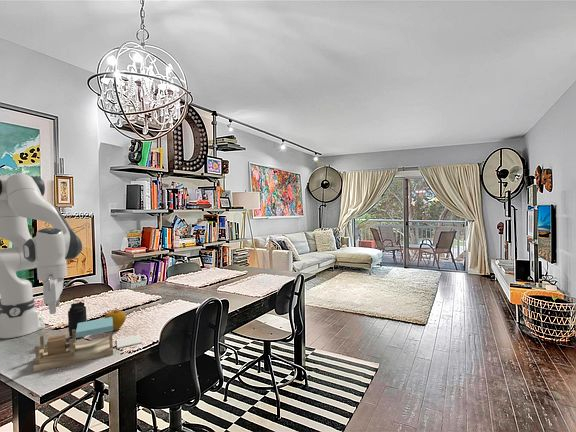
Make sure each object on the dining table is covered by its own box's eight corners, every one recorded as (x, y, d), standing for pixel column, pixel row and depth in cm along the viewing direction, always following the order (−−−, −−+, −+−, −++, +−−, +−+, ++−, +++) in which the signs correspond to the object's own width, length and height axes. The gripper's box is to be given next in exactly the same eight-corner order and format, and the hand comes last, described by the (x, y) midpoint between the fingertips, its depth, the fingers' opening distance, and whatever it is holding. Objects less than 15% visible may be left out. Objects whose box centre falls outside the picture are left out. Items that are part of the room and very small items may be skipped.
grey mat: (116, 340, 135) (116, 339, 134) (139, 335, 139) (139, 334, 139) (117, 348, 127) (117, 347, 127) (142, 343, 131) (141, 342, 131)
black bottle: (78, 340, 136) (76, 305, 135) (65, 339, 137) (63, 304, 137) (91, 333, 143) (90, 300, 142) (79, 332, 144) (77, 299, 144)
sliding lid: (78, 328, 127) (77, 323, 127) (112, 321, 133) (112, 316, 133) (76, 337, 117) (75, 332, 117) (113, 330, 123) (113, 325, 123)
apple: (121, 333, 142) (120, 313, 142) (100, 334, 141) (99, 314, 141) (129, 325, 151) (128, 306, 151) (109, 326, 150) (108, 307, 150)
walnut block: (50, 353, 120) (49, 337, 120) (66, 349, 122) (65, 334, 122) (48, 358, 116) (47, 342, 115) (64, 355, 118) (63, 339, 118)
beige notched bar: (40, 356, 122) (39, 334, 122) (112, 340, 134) (111, 321, 134) (33, 372, 110) (32, 348, 110) (113, 354, 122) (112, 332, 122)
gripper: (59, 276, 110) (62, 316, 111) (65, 267, 128) (67, 301, 129) (36, 279, 107) (39, 320, 108) (46, 269, 125) (48, 304, 125)
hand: (54, 309), depth 118 cm, fingers open, 8 cm apart
